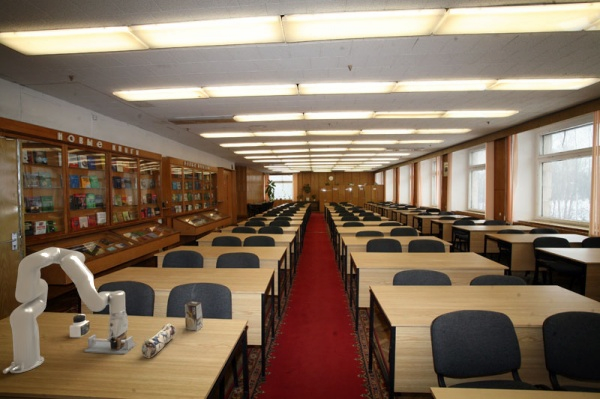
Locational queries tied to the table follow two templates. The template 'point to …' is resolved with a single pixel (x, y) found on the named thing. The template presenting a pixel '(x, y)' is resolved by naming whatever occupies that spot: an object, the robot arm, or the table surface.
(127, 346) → the rail
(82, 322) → the medicine bottle
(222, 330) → the table surface
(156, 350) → the pencil case
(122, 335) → the keeper
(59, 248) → the robot arm
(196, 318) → the coffee box
